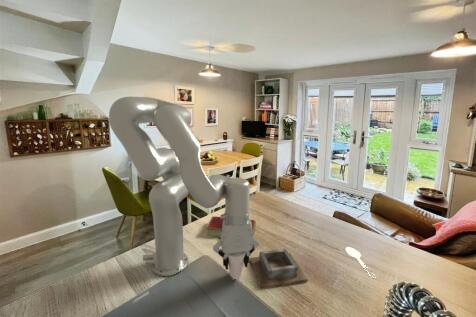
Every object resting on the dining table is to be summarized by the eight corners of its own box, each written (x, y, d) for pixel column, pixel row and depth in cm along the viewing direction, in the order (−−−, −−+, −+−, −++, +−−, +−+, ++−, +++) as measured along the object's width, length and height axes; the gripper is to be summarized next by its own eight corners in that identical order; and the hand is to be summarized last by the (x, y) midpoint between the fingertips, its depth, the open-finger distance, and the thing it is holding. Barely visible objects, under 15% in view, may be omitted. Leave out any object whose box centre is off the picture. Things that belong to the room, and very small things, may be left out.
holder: (261, 288, 75) (262, 276, 74) (250, 260, 88) (250, 249, 87) (307, 281, 78) (308, 270, 77) (289, 255, 91) (290, 245, 90)
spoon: (366, 279, 80) (367, 278, 80) (341, 247, 98) (342, 246, 97) (381, 279, 80) (382, 278, 80) (354, 247, 98) (354, 246, 98)
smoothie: (243, 284, 76) (243, 246, 73) (224, 281, 77) (223, 243, 74) (246, 270, 82) (247, 235, 79) (228, 268, 84) (228, 232, 80)
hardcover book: (212, 223, 115) (212, 215, 114) (255, 227, 112) (255, 219, 111) (205, 236, 104) (205, 227, 103) (253, 241, 101) (253, 232, 100)
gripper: (211, 225, 69) (211, 277, 74) (266, 220, 73) (263, 270, 77) (208, 213, 77) (209, 261, 81) (259, 209, 80) (257, 255, 84)
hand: (235, 265), depth 79 cm, fingers closed on smoothie, 5 cm apart
